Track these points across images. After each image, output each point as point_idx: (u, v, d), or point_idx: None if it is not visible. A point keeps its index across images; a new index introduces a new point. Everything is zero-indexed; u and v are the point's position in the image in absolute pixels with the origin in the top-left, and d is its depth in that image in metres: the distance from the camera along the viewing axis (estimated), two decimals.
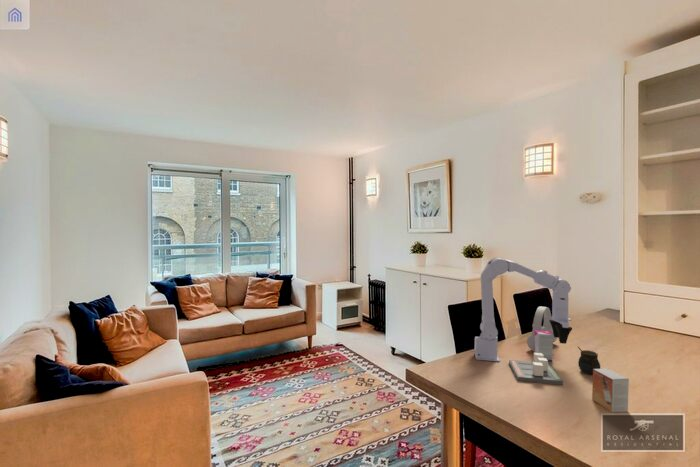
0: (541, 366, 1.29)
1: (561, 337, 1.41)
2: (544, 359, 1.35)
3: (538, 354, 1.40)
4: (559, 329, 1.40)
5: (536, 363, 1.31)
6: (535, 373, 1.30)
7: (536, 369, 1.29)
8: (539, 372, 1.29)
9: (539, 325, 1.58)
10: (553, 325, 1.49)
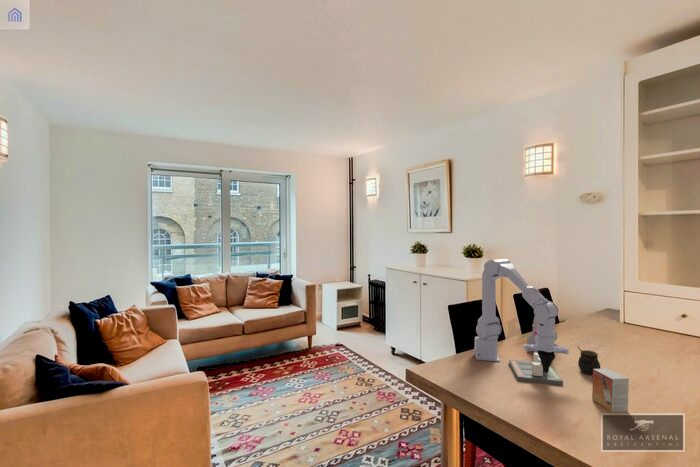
0: (540, 366, 1.29)
1: (542, 363, 1.31)
2: None
3: None
4: (537, 352, 1.32)
5: (535, 363, 1.31)
6: (534, 373, 1.30)
7: (535, 369, 1.30)
8: (539, 372, 1.29)
9: None
10: None
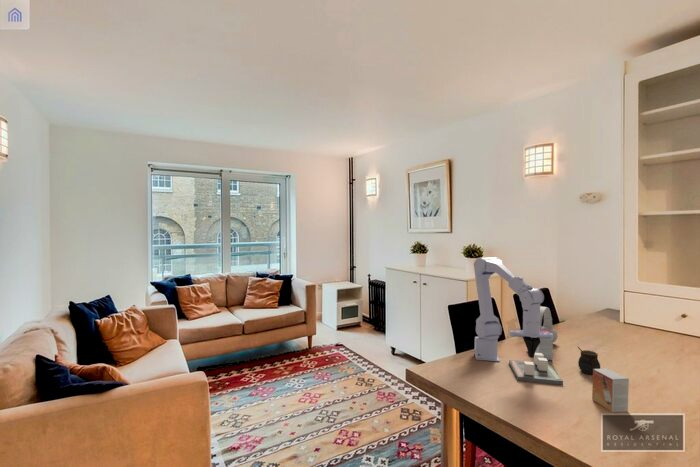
0: (532, 365, 1.30)
1: (528, 349, 1.32)
2: (544, 359, 1.35)
3: (538, 354, 1.40)
4: None
5: (527, 362, 1.32)
6: (526, 372, 1.30)
7: (527, 369, 1.30)
8: (530, 371, 1.30)
9: None
10: None
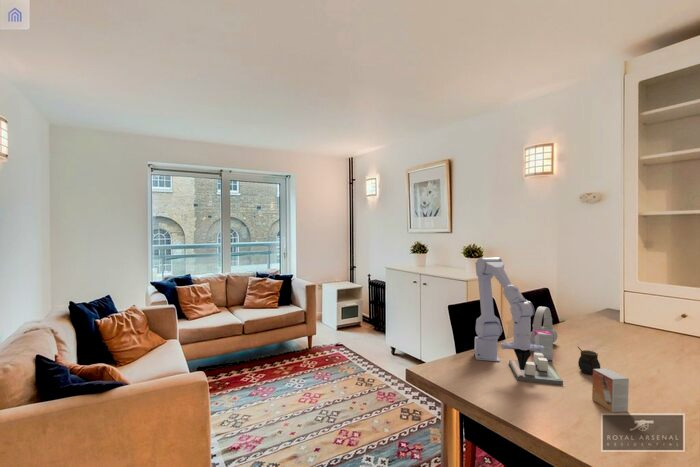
0: (533, 365, 1.30)
1: (519, 361, 1.33)
2: (544, 359, 1.35)
3: (538, 354, 1.40)
4: (514, 350, 1.34)
5: (528, 362, 1.32)
6: (527, 372, 1.30)
7: (528, 369, 1.30)
8: (531, 371, 1.30)
9: (539, 325, 1.58)
10: None
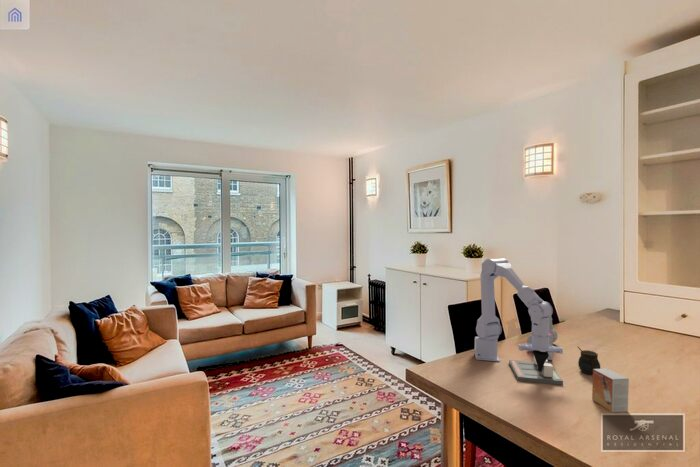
0: (551, 367, 1.28)
1: (537, 363, 1.31)
2: None
3: None
4: None
5: (546, 363, 1.31)
6: (545, 374, 1.29)
7: (545, 370, 1.29)
8: (549, 373, 1.28)
9: None
10: None
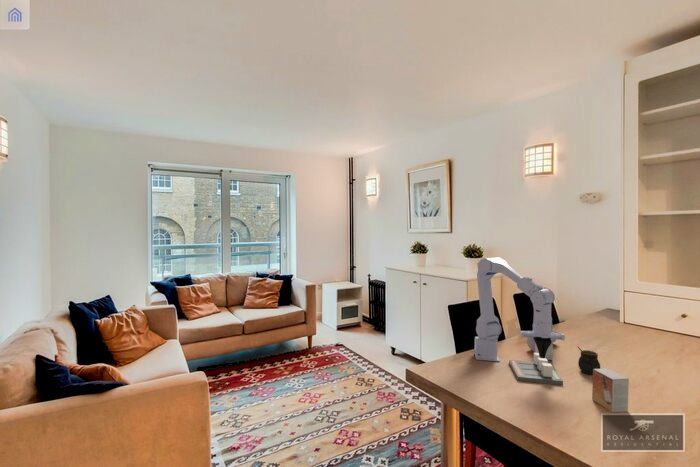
0: (550, 367, 1.28)
1: (539, 350, 1.31)
2: (544, 359, 1.35)
3: (538, 354, 1.40)
4: None
5: (545, 363, 1.31)
6: (544, 374, 1.29)
7: (545, 370, 1.29)
8: (548, 373, 1.28)
9: None
10: None
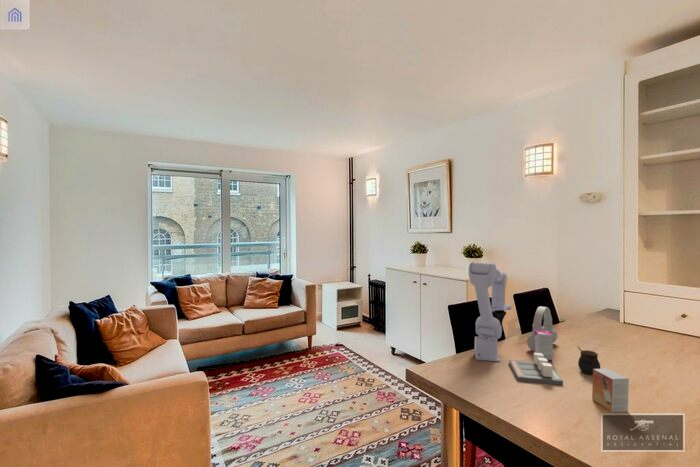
0: (550, 367, 1.28)
1: None
2: (544, 359, 1.35)
3: (538, 354, 1.40)
4: None
5: (545, 363, 1.31)
6: (544, 374, 1.29)
7: (545, 370, 1.29)
8: (548, 373, 1.28)
9: (539, 325, 1.58)
10: None
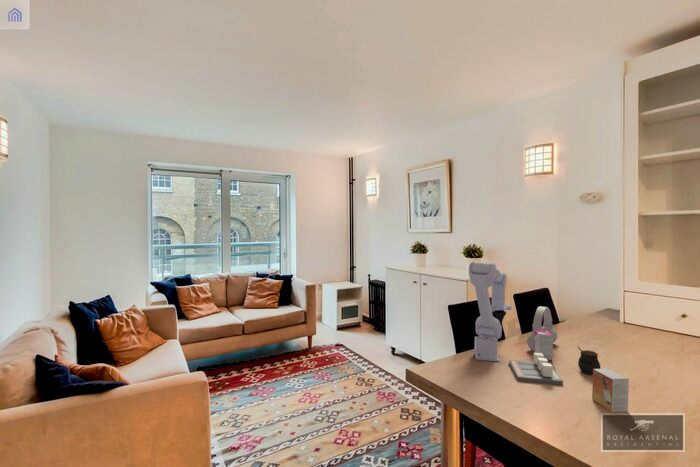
0: (550, 367, 1.28)
1: None
2: (544, 359, 1.35)
3: (538, 354, 1.40)
4: None
5: (545, 363, 1.31)
6: (544, 374, 1.29)
7: (545, 370, 1.29)
8: (548, 373, 1.28)
9: (539, 325, 1.58)
10: (496, 314, 1.66)
